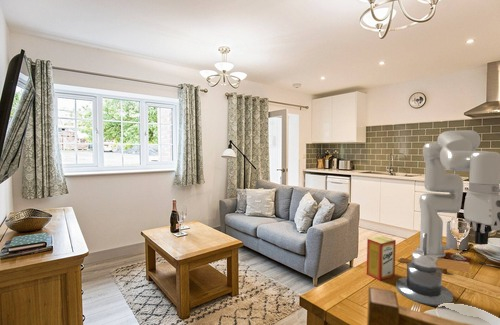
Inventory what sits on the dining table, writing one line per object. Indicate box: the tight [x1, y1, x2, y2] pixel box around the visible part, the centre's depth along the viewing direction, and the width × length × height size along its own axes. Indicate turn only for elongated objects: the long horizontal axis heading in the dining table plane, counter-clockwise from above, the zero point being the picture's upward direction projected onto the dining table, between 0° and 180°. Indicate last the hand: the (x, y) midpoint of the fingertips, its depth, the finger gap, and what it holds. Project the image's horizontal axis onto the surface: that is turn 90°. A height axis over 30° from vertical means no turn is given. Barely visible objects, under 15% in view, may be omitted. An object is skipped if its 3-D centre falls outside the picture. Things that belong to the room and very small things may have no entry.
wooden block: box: [411, 233, 471, 273], centre depth 97 cm, size 18×8×13 cm, turn 66°
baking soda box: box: [366, 235, 397, 282], centre depth 113 cm, size 10×6×16 cm
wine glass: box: [445, 220, 470, 251], centre depth 146 cm, size 10×10×15 cm
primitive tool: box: [397, 257, 448, 274], centre depth 123 cm, size 19×6×4 cm, turn 45°
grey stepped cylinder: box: [395, 262, 454, 307], centre depth 99 cm, size 18×18×10 cm
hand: (481, 243), depth 87 cm, fingers closed
